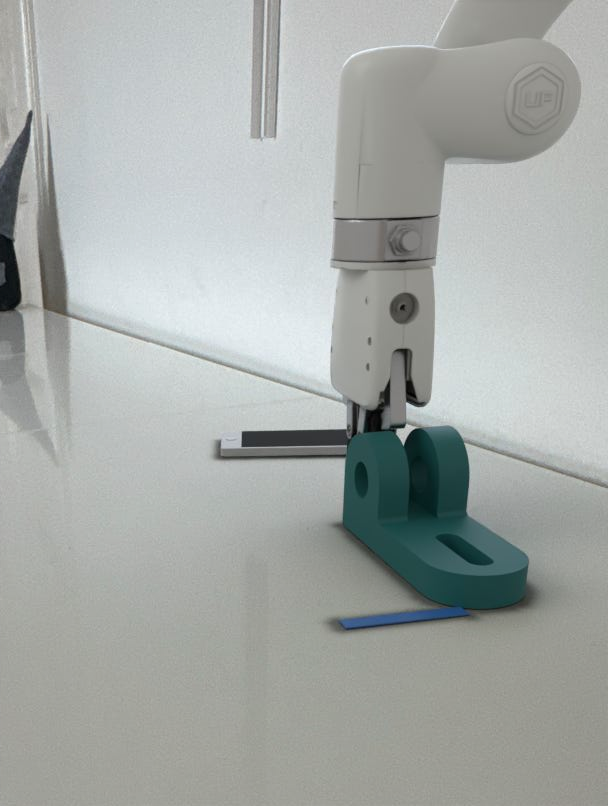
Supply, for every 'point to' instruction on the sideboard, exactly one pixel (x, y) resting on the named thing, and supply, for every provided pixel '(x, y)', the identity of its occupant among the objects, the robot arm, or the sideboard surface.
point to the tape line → (403, 617)
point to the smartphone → (284, 442)
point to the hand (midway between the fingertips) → (366, 489)
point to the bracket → (428, 518)
